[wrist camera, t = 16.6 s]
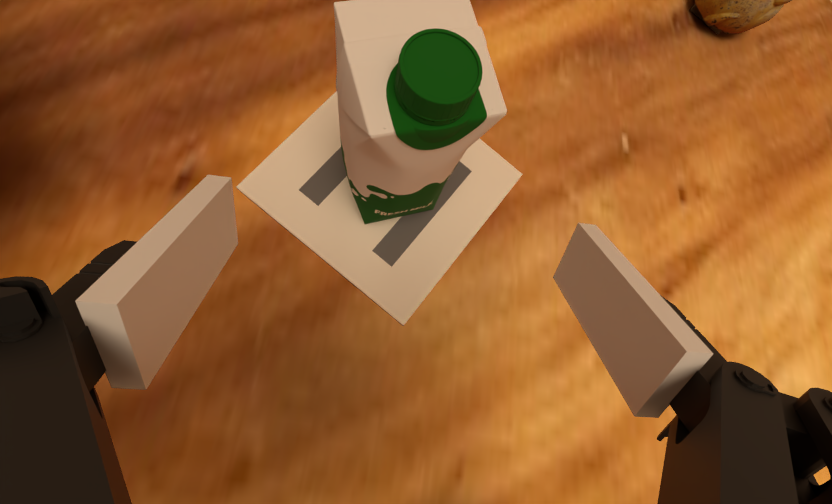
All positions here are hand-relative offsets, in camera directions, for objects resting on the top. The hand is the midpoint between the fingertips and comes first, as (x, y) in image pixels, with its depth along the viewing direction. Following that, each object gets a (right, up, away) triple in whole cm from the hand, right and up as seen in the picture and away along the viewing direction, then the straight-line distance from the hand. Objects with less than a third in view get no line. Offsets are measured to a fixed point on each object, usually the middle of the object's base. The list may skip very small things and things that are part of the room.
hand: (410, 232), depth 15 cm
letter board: (-3, +6, +23) cm, 24 cm away
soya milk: (-2, +6, +23) cm, 24 cm away
